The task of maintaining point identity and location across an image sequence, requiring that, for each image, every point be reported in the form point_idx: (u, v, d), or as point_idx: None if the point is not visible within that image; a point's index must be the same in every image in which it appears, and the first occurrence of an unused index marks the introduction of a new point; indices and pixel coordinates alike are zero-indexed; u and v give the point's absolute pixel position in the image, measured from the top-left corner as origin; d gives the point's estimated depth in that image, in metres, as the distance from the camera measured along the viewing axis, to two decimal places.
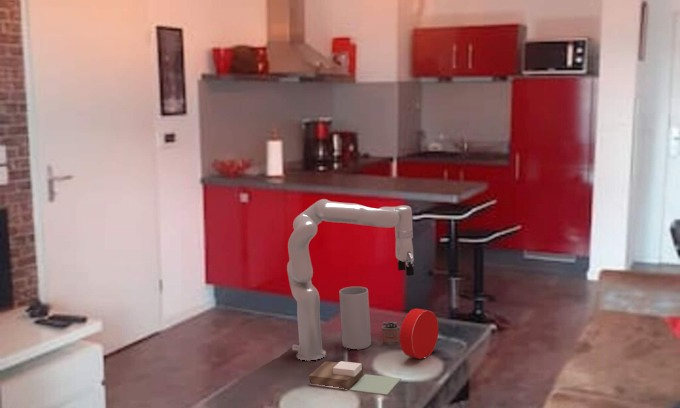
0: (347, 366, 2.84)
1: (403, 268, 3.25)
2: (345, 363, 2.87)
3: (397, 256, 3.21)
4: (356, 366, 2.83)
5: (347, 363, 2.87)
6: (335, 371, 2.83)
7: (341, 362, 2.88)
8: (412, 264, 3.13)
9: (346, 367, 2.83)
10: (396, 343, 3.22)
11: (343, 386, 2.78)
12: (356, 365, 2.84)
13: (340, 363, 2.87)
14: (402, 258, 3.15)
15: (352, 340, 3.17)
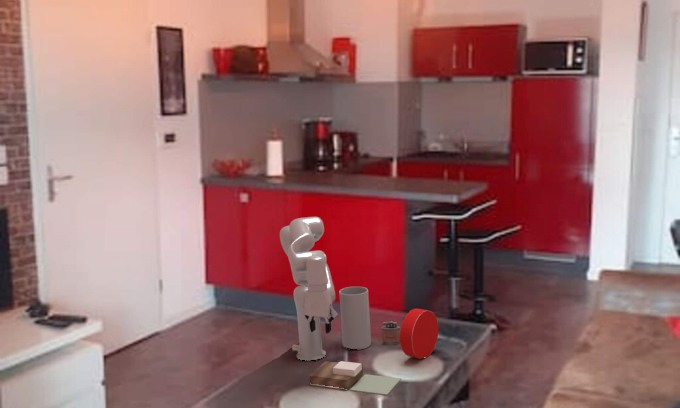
0: (347, 366, 2.84)
1: (314, 328, 2.89)
2: (345, 363, 2.87)
3: (311, 313, 2.84)
4: (356, 366, 2.83)
5: (347, 363, 2.87)
6: (335, 371, 2.83)
7: (341, 362, 2.88)
8: None
9: (346, 367, 2.83)
10: (396, 343, 3.22)
11: (343, 386, 2.78)
12: (356, 365, 2.84)
13: (340, 363, 2.87)
14: (325, 313, 2.82)
15: (352, 340, 3.17)
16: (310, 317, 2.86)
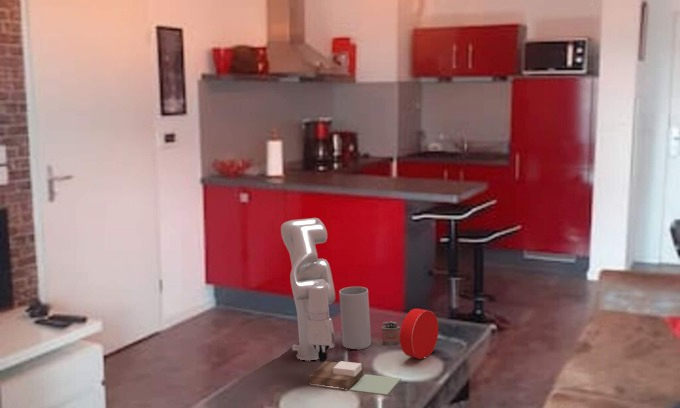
0: (347, 366, 2.84)
1: None
2: (345, 363, 2.87)
3: (313, 342, 2.85)
4: (356, 366, 2.83)
5: (347, 363, 2.87)
6: (335, 371, 2.83)
7: (341, 362, 2.88)
8: (328, 348, 2.87)
9: (346, 367, 2.83)
10: (396, 343, 3.22)
11: (343, 386, 2.78)
12: (356, 365, 2.84)
13: (340, 363, 2.87)
14: (327, 342, 2.83)
15: (352, 340, 3.17)
16: (317, 346, 2.87)
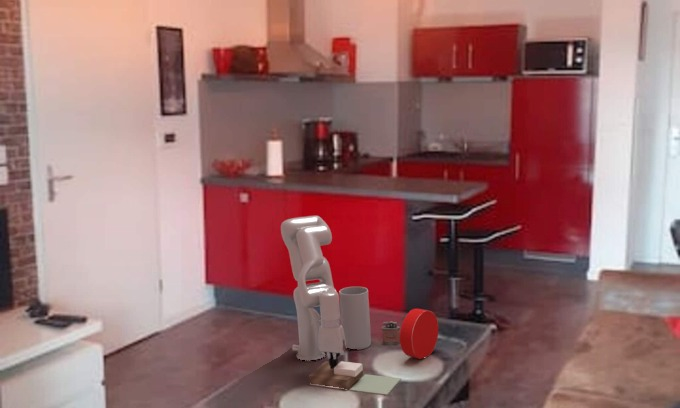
0: (348, 366, 2.84)
1: None
2: (346, 363, 2.87)
3: (324, 349, 2.84)
4: (357, 367, 2.83)
5: (348, 363, 2.87)
6: (336, 371, 2.83)
7: (342, 362, 2.88)
8: None
9: (346, 367, 2.83)
10: (396, 343, 3.22)
11: (343, 386, 2.78)
12: (357, 366, 2.84)
13: (341, 363, 2.87)
14: (338, 349, 2.82)
15: (352, 340, 3.17)
16: (328, 353, 2.86)
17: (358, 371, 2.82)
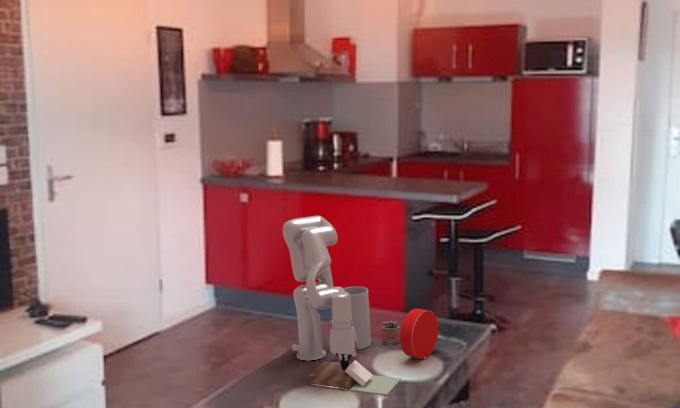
0: (360, 372, 2.82)
1: None
2: (359, 366, 2.84)
3: (336, 350, 2.82)
4: (368, 378, 2.81)
5: (361, 367, 2.84)
6: (348, 370, 2.81)
7: (356, 362, 2.85)
8: (351, 356, 2.84)
9: (359, 372, 2.81)
10: (396, 343, 3.22)
11: (343, 386, 2.78)
12: (368, 376, 2.82)
13: (355, 363, 2.84)
14: (350, 351, 2.80)
15: None
16: (339, 355, 2.84)
17: (367, 381, 2.81)
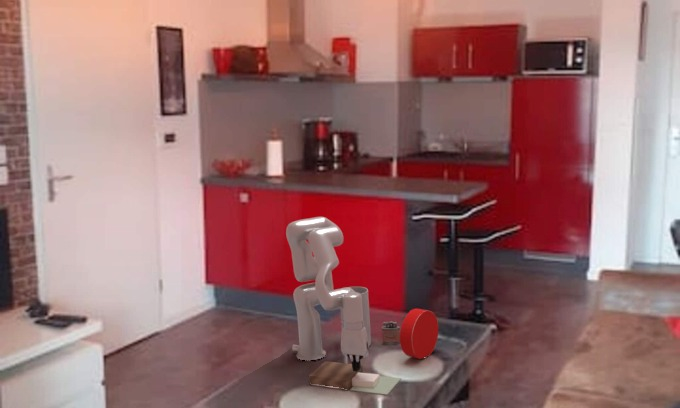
0: (366, 377, 2.81)
1: None
2: (363, 374, 2.84)
3: (347, 351, 2.80)
4: (375, 378, 2.80)
5: (365, 374, 2.84)
6: (354, 382, 2.80)
7: (359, 373, 2.85)
8: (362, 357, 2.82)
9: (364, 378, 2.80)
10: (396, 343, 3.22)
11: (343, 386, 2.78)
12: (375, 377, 2.81)
13: (358, 374, 2.84)
14: (361, 351, 2.78)
15: None
16: (351, 356, 2.82)
17: (376, 382, 2.80)
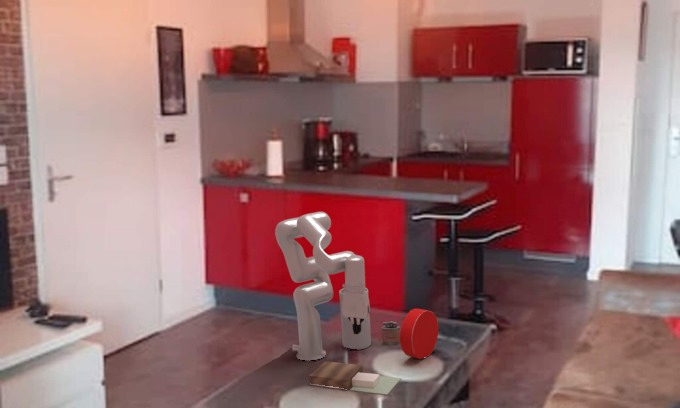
0: (366, 377, 2.81)
1: None
2: (363, 374, 2.84)
3: (348, 314, 2.81)
4: (375, 378, 2.80)
5: (365, 374, 2.84)
6: (354, 382, 2.80)
7: (359, 373, 2.85)
8: (363, 320, 2.83)
9: (364, 378, 2.80)
10: (396, 343, 3.22)
11: (343, 386, 2.78)
12: (375, 377, 2.81)
13: (358, 374, 2.84)
14: (362, 315, 2.79)
15: (352, 340, 3.17)
16: (352, 319, 2.83)
17: (376, 382, 2.80)
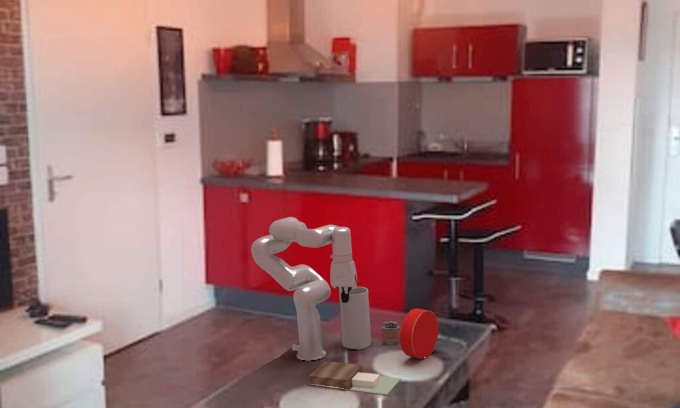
0: (366, 377, 2.81)
1: None
2: (363, 374, 2.84)
3: (336, 283, 2.94)
4: (375, 378, 2.80)
5: (365, 374, 2.84)
6: (354, 382, 2.80)
7: (359, 373, 2.85)
8: (351, 289, 2.96)
9: (364, 378, 2.80)
10: (396, 343, 3.22)
11: (343, 386, 2.78)
12: (375, 377, 2.81)
13: (358, 374, 2.84)
14: (350, 283, 2.92)
15: (352, 340, 3.17)
16: (340, 288, 2.96)
17: (376, 382, 2.80)
